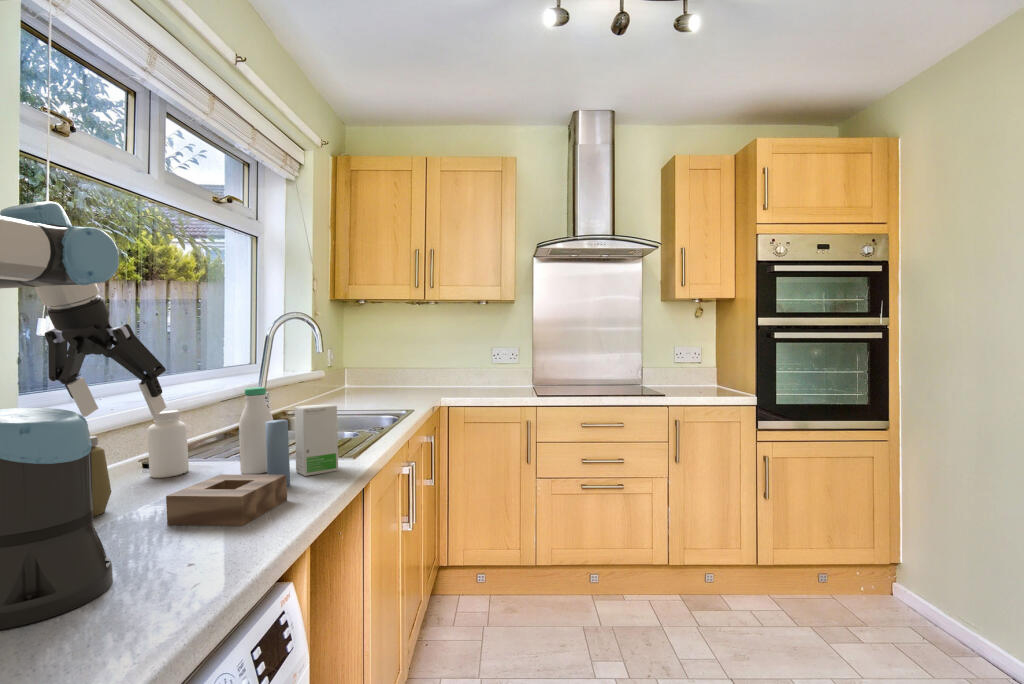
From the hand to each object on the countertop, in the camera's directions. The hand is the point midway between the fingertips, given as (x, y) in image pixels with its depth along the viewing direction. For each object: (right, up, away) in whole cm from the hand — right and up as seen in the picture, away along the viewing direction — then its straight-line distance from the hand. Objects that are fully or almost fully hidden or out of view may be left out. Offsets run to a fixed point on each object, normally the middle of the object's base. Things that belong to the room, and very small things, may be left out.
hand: (124, 412), depth 96 cm
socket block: (+17, -19, +3) cm, 26 cm away
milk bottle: (+8, -19, +33) cm, 39 cm away
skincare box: (+23, -18, +31) cm, 43 cm away
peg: (+19, -18, +19) cm, 33 cm away
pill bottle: (-13, -19, +33) cm, 40 cm away
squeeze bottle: (-10, -20, +3) cm, 22 cm away
